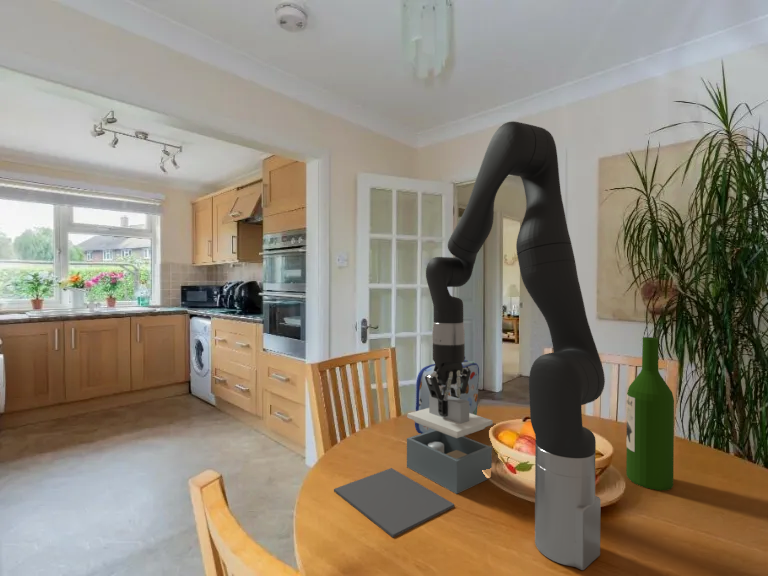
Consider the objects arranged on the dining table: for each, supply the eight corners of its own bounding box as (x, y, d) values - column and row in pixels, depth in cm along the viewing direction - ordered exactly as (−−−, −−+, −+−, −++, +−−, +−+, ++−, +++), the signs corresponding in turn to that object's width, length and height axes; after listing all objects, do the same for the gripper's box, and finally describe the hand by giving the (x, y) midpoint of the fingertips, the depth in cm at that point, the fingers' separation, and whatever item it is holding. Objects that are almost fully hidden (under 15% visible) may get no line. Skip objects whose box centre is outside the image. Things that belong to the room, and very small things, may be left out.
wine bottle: (620, 470, 96) (621, 334, 96) (661, 473, 94) (663, 336, 94) (635, 488, 88) (636, 340, 87) (681, 492, 86) (683, 341, 85)
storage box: (491, 477, 92) (491, 447, 92) (456, 494, 85) (456, 461, 85) (441, 454, 105) (441, 427, 105) (406, 466, 98) (406, 438, 98)
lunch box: (454, 414, 137) (454, 350, 137) (483, 420, 131) (483, 353, 131) (410, 439, 115) (410, 363, 115) (442, 448, 109) (442, 367, 109)
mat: (454, 506, 80) (454, 504, 80) (392, 537, 70) (392, 534, 70) (391, 470, 96) (391, 467, 96) (333, 491, 86) (333, 488, 86)
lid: (492, 428, 92) (492, 400, 92) (457, 441, 85) (457, 410, 85) (441, 412, 105) (441, 387, 105) (407, 421, 97) (407, 395, 97)
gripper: (439, 345, 88) (439, 424, 87) (480, 340, 96) (480, 412, 96) (415, 342, 93) (416, 416, 93) (456, 337, 102) (456, 405, 102)
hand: (448, 413), depth 95 cm, fingers closed on lid, 3 cm apart
